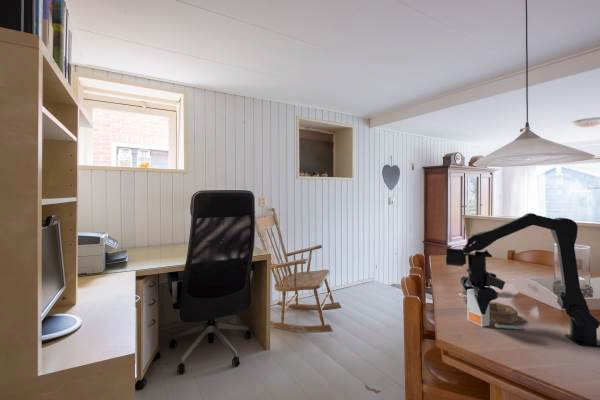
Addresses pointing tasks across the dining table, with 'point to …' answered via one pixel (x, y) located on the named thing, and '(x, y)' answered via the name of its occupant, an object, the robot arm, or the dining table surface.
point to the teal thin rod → (508, 327)
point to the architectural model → (463, 294)
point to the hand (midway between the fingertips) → (478, 309)
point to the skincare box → (476, 311)
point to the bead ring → (502, 313)
